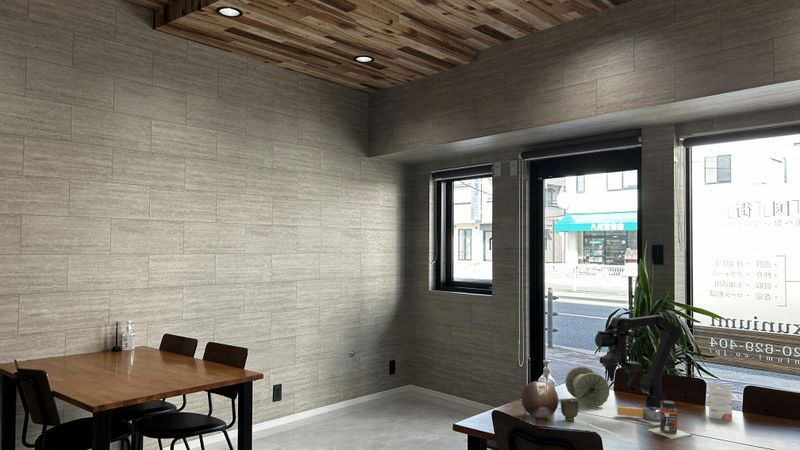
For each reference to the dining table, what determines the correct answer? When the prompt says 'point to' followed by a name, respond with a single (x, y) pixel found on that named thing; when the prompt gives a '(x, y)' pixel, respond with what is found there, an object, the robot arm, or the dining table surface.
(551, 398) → the wooden sphere
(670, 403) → the supplement bottle
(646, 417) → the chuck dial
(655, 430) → the green pad
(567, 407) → the cup
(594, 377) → the spool
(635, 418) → the dial plate
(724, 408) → the ink cartridge box
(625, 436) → the dining table surface
